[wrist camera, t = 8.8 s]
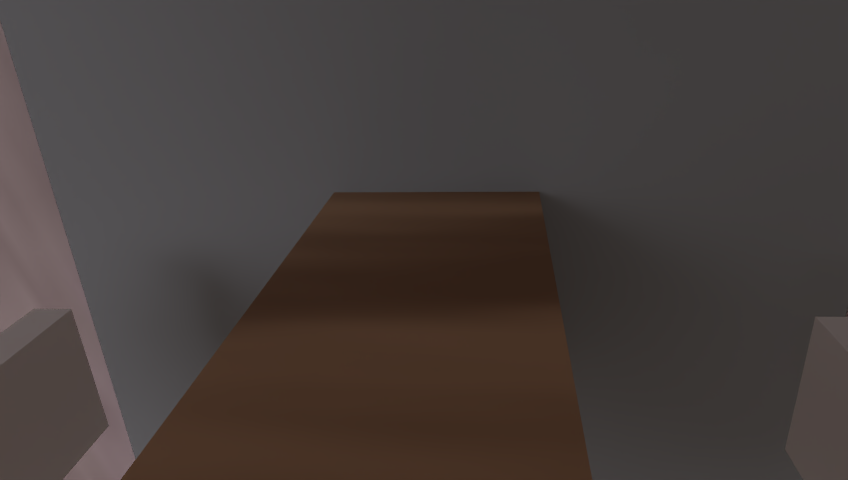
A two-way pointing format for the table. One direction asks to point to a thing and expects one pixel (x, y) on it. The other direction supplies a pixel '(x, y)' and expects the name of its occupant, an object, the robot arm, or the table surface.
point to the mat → (469, 183)
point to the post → (391, 354)
